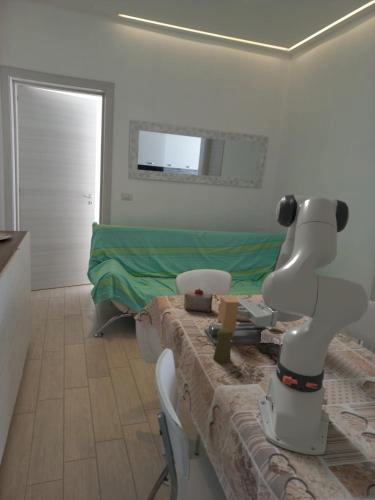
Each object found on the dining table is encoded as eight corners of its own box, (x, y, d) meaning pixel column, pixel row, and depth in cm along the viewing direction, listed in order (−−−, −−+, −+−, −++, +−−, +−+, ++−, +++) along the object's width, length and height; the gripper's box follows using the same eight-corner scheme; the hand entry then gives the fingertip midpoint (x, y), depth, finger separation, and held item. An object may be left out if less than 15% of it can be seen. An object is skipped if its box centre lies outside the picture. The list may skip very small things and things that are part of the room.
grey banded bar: (261, 331, 142) (263, 320, 141) (266, 335, 138) (267, 324, 137) (208, 333, 135) (209, 321, 134) (211, 337, 132) (213, 325, 131)
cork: (229, 365, 115) (233, 335, 113) (212, 361, 116) (215, 331, 114) (231, 356, 121) (235, 327, 119) (214, 353, 122) (217, 324, 120)
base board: (257, 329, 146) (257, 327, 146) (271, 343, 135) (271, 340, 134) (204, 331, 139) (204, 328, 139) (214, 345, 128) (214, 342, 128)
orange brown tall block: (228, 330, 139) (232, 296, 136) (234, 337, 133) (238, 302, 130) (216, 330, 137) (220, 296, 135) (222, 337, 132) (226, 302, 129)
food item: (182, 310, 159) (184, 290, 157) (183, 304, 167) (185, 285, 165) (211, 314, 158) (213, 294, 157) (211, 308, 166) (213, 288, 164)
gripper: (255, 295, 147) (225, 294, 143) (279, 313, 128) (246, 314, 124) (253, 308, 148) (223, 309, 144) (277, 329, 129) (243, 330, 125)
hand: (234, 311), depth 134 cm, fingers closed
